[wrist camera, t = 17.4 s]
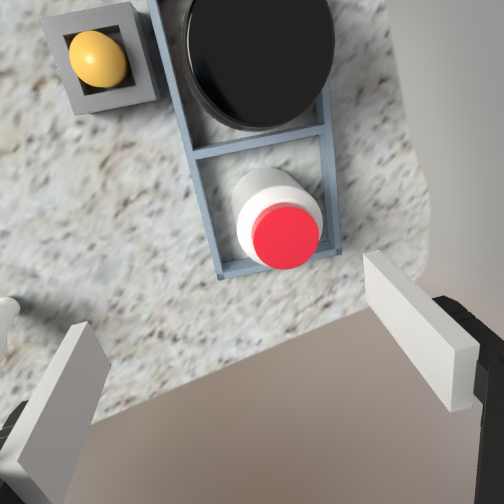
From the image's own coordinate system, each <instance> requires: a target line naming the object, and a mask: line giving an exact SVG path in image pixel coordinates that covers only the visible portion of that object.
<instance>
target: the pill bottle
mask: <svg viewBox="0 0 504 504" xmlns="http://www.w3.org/2000/svg"><path fill="white" fill-rule="evenodd" d="M231 207H232V212H233V217H234V222H235V227H236V231H237V236H238V241H239V243H240V245H241V247H242V249H243V250H244V252H245V253H246V254H247V255H248V256H249V257H250V258H251V259H252V260H254V261H255V262H257V263H259V264H261V265H264V266H267V267H272V268H275V269H291V268H295V267H297V266H300V265H301V264H303V263H305V262H306V261H307V260H308V259H309V258H310V257H311V256H312V255H313V253H314V252H315V250H316V248H317V245H318V242H319V240H320V237H321V234H322V228H323V219H322V213H321V210H320V207H319V206H318V204H317V202H316V201H315V199H314V198H313V197H312V196H311V195H310V194H309V193H308V192H307V191H306V190H305V189H304V188H303V187H302V186H301V185H300V184H299V183H297V182H296V181H295V180H294V179H293V178H292V177H291V176H290V175H289V174H287V173H286V172H284V171H282V170H280V169H277V168H272V167H263V168H258V169H255V170H253V171H251V172H249V173H248V174H246V175H245V176H244V177H243V178H242V179H241V180H240V181H239V182H238V183H237V185H236V187H235V189H234V191H233V194H232V200H231Z"/></svg>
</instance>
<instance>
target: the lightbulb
mask: <svg viewBox="0 0 504 504" xmlns="http://www.w3.org/2000/svg"><path fill="white" fill-rule="evenodd" d="M19 311H20V305H19V303H18V302H17V301H16V300H15V299H13V298H10V297H2V298H0V363H1V362H2V360H3V359H4V356H5V354H6V351H7V332H8V330H9V328H10V327H11V325H12V324H13V321H14V318H15V317H16V315H17V314H18V313H19Z"/></svg>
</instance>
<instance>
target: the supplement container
mask: <svg viewBox="0 0 504 504" xmlns="http://www.w3.org/2000/svg"><path fill="white" fill-rule="evenodd" d="M334 49H335V32H334V24H333V19H332V15H331V11H330V8H329V5H328V3H327V0H192V1H191V3H190V5H189V7H188V9H187V11H186V14H185V17H184V21H183V24H182V29H181V37H180V56H181V63H182V69H183V72H184V76H185V79H186V81H187V84H188V86H189V88H190V90H191V92H192V94H193V95H194V97H195V99H196V100H197V101H198V103H199V104H200V105H201V107H202V108H203V109H204V110H205V111H206V112H207V113H208V114H209V115H211V116H212V117H213V118H214V119H216V120H217V121H219V122H220V123H222V124H224V125H226V126H228V127H231V128H233V129H237V130H241V131H247V132H261V131H267V130H271V129H274V128H277V127H280V126H282V125H284V124H286V123H287V122H289V121H291V120H293V119H294V118H296V117H298V116H299V115H300V114H302V113H303V112H304V111H305V110H306V109H307V108H308V107H309V106H310V105H311V104H312V103H313V102H314V101H315V100H316V98H317V97H318V95H319V94H320V92H321V91H322V89H323V87H324V85H325V83H326V81H327V79H328V76H329V73H330V70H331V67H332V63H333V57H334Z"/></svg>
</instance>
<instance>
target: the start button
mask: <svg viewBox="0 0 504 504" xmlns="http://www.w3.org/2000/svg"><path fill="white" fill-rule="evenodd" d="M69 58H70V62H71V65H72V68H73V70H74V71H75V73H76V74H77V75H78V77H79V78H80V79H82V80H83V81H84V82H86V83H87V84H89V85H92V86H96V87H105V88H115V87H118V86H121V85H122V84H123V83H124V82H125V81H126V80H127V78H128V76H129V73H130V62H129V59H128V55H127V53H126V51H125V50H124V49H123V47H122V46H121V45H120V44H118V43H117V42H116V41H114V40H112V39H111V38H109V37H107V36H106V35H104V34H102V33H100V32H97V31H84V32H82V33H80V34H78V35H77V36H76V37H75V38H74V39H73V41H72V43H71V45H70V49H69Z"/></svg>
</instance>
